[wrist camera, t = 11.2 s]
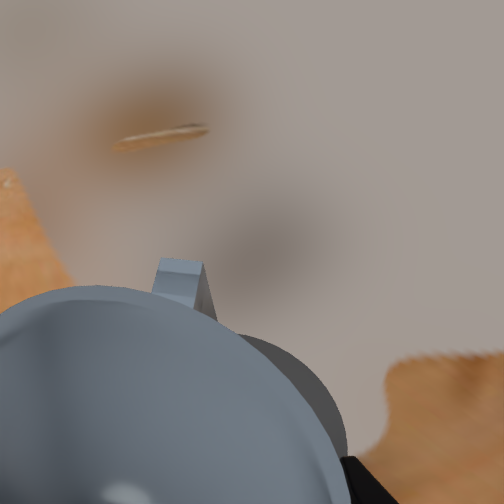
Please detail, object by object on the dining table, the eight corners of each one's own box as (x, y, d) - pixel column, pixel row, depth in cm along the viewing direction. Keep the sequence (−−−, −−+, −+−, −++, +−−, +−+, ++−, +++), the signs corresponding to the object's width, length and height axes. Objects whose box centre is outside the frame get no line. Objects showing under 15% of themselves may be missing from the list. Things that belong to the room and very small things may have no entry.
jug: (265, 514, 12) (307, 691, 1) (150, 495, 13) (-59, 559, 1) (279, 380, 16) (357, 204, 5) (170, 366, 17) (22, 186, 5)
